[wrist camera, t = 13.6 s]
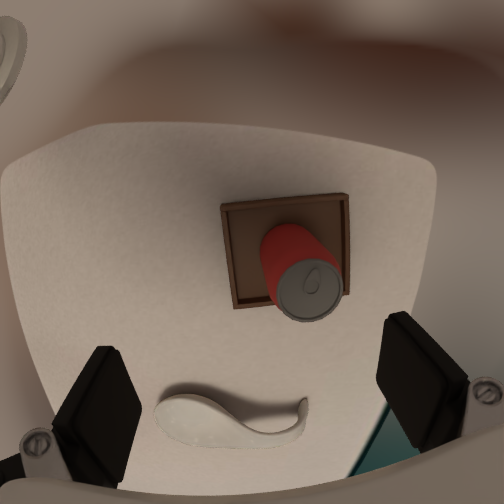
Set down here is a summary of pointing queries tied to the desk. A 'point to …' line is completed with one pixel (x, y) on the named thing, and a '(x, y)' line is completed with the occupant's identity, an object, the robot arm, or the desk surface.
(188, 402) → the spoon rest
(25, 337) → the desk surface
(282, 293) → the beer can
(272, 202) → the tray
